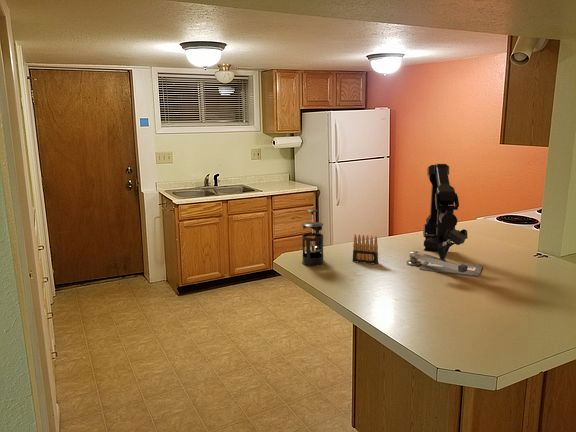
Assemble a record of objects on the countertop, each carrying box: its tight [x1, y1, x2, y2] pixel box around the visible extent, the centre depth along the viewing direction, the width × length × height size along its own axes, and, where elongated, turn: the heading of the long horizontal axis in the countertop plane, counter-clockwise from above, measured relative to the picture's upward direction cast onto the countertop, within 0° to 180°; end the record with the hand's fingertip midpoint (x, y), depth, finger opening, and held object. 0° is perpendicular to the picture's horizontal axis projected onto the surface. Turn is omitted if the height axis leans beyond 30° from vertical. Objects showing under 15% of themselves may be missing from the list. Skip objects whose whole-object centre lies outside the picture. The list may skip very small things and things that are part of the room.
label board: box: [419, 261, 483, 278], centre depth 188 cm, size 22×14×1 cm, turn 62°
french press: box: [301, 208, 325, 267], centre depth 198 cm, size 12×9×23 cm
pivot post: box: [405, 257, 422, 267], centre depth 195 cm, size 6×6×3 cm
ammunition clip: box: [352, 233, 379, 265], centre depth 198 cm, size 11×2×12 cm, turn 65°
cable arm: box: [409, 250, 468, 273], centre depth 185 cm, size 26×4×2 cm, turn 34°
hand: (442, 260), depth 185 cm, fingers closed
